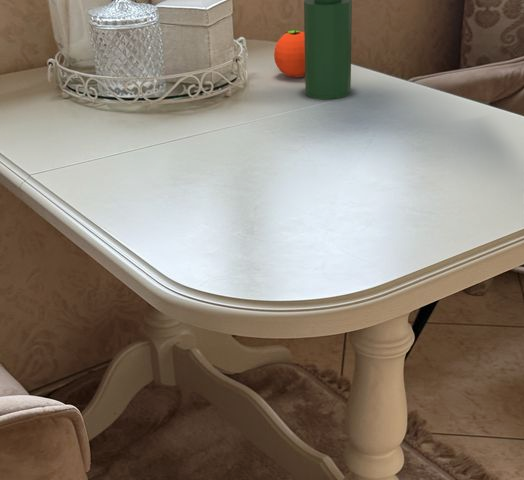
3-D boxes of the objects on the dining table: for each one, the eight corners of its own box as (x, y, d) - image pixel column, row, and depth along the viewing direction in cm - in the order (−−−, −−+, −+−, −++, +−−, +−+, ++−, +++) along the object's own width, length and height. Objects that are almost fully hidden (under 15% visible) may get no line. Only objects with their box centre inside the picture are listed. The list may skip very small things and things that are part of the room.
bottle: (349, 85, 123) (350, -36, 113) (351, 98, 117) (353, -28, 107) (305, 87, 123) (303, -34, 113) (305, 100, 117) (303, -26, 108)
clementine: (266, 73, 131) (264, 27, 127) (304, 67, 133) (303, 22, 129) (284, 84, 124) (283, 37, 120) (324, 78, 126) (324, 31, 122)
